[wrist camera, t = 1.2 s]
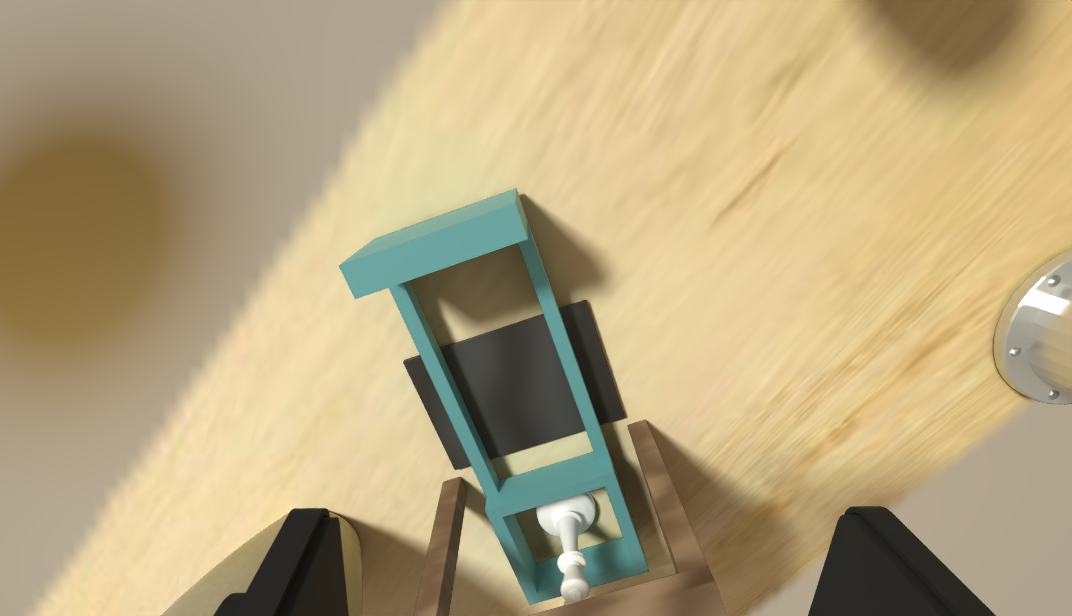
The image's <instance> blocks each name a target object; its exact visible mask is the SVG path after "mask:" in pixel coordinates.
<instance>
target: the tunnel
mask: <svg viewBox="0 0 1072 616" xmlns="http://www.w3.org/2000/svg"><path fill="white" fill-rule="evenodd" d="M559 311H560V314H561V317H562V319H563V322H564V325H565V328H566V331H567V334H568V336H569V339H570V342H571V345H572V348H573V351H574V354H575V356H576V359H577V362H578V365H579V368H580V371H581V373H582V376H583V379H584V382H585V385H586V388H587V391H588V393H589V396H590V399H591V402H592V405H593V408H594V410H595V413H596V416H597V419H598V422H599V425H602V424H605V423H609V422H612V421H615V420H618V419H621V418H625V417H624V414H623V411H622V408H621V405H620V402H619V399H618V396H617V393H616V390H615V387H614V384H613V381H612V378H611V375H610V372H609V368H608V365H607V362H606V359H605V356H604V353H603V350H602V347H601V344H600V341H599V338H598V335H597V332H596V329H595V326H594V323H593V320H592V317H591V314H590V311H589V308H588V305H587V302H586V300H583V301H580V302H577V303H574V304H571V305H568V306H565V307H562V308H559ZM440 350H441V352H442V354H443V356H444V359H445V361H446V363H447V365H448V367H449V370H450V372H451V374H452V376H453V379H454V381H455V383H456V385H457V387H458V390H459V392H460V394H461V396H462V399H463V401H464V403H465V405H466V407H467V410H468V412H469V414H470V416H471V419H472V421H473V423H474V425H475V427H476V430H477V432H478V434H479V436H480V439H481V441H482V443H483V445H484V448H485V450H486V452H487V454H488V456H489V459H493V458H496V457H499V456H502V455H505V454H509V453H512V452H515V451H518V450H522V449H525V448H528V447H531V446H534V445H538V444H541V443H544V442H547V441H551V440H554V439H557V438H560V437H563V436H567V435H570V434H573V433H576V432H580V431H583V430H586V429H585V426H584V423H583V420H582V418H581V415H580V412H579V409H578V407H577V404H576V401H575V398H574V396H573V393H572V390H571V387H570V385H569V382H568V379H567V376H566V374H565V371H564V368H563V365H562V363H561V360H560V357H559V354H558V352H557V349H556V346H555V343H554V341H553V338H552V335H551V332H550V330H549V327H548V324H547V321H546V319H545V316H544V314H541V315H538V316H535V317H532V318H529V319H526V320H523V321H520V322H517V323H514V324H511V325H508V326H505V327H502V328H499V329H496V330H493V331H490V332H487V333H484V334H481V335H478V336H475V337H472V338H469V339H466V340H463V341H460V342H457V343H454V344H451V345H448V346H445V347H442V348H440ZM403 363H404V365H405V367H406V369H407V371H408V373H409V376H410V378H411V380H412V382H413V384H414V386H415V388H416V390H417V392H418V394H419V396H420V398H421V400H422V403H423V405H424V407H425V409H426V411H427V413H428V415H429V417H430V419H431V421H432V423H433V425H434V427H435V429H436V432H437V434H438V436H439V438H440V440H441V442H442V444H443V446H444V448H445V450H446V452H447V454H448V456H449V459H450V461H451V463H452V465H453V467H454V469H455V470H457V469H460V468H464V467H467V466H470V465H471V463H470V461H469V459H468V457H467V454H466V452H465V450H464V448H463V446H462V444H461V442H460V439H459V437H458V435H457V433H456V431H455V429H454V427H453V424H452V422H451V420H450V418H449V416H448V414H447V412H446V409H445V407H444V405H443V403H442V401H441V399H440V397H439V394H438V392H437V390H436V388H435V386H434V384H433V382H432V379H431V377H430V375H429V373H428V371H427V369H426V367H425V364H424V362H423V360H422V358H421V356H420V355H418V356H415V357H412V358H409V359H406V360H404V362H403ZM627 426H628V429H629V432H630V435H631V438H632V442H633V445H634V448H635V451H636V454H637V457H638V460H639V463H640V466H641V469H642V472H643V475H644V478H645V481H646V484H647V487H648V490H649V493H650V496H651V499H652V502H653V505H654V508H655V511H656V514H657V517H658V520H659V523H660V526H661V529H662V532H663V536H664V539H665V541H666V544H667V547H668V550H669V553H670V556H671V559H672V561H673V564H674V567H675V570H676V573H677V574H675V575H671V576H668V577H664V578H661V579H657V580H653V581H650V582H646V583H643V584H639V585H636V586H632V587H628V588H625V589H621V590H618V591H614V592H611V593H607V594H603V595H600V596H596V597H593V598H589V599H586V600H582V601H579V602H575V603H571V604H568V605H564V606H561V607H557V608H554V609H550V610H546V611H543V612H539V613H536V614H532V615H529V616H726V614H725V611H724V607H723V604H722V601H721V597H720V594H719V591H718V588H717V586H716V583H715V581H714V579H713V576H712V574H711V572H710V569H709V567H708V565H707V562H706V560H705V558H704V555H703V553H702V551H701V548H700V546H699V544H698V541H697V539H696V537H695V534H694V532H693V529H692V527H691V525H690V522H689V520H688V518H687V515H686V513H685V511H684V508H683V506H682V504H681V501H680V499H679V497H678V494H677V492H676V490H675V487H674V485H673V483H672V480H671V478H670V476H669V473H668V471H667V469H666V466H665V464H664V462H663V459H662V457H661V454H660V452H659V450H658V447H657V445H656V443H655V440H654V438H653V436H652V433H651V431H650V429H649V426H648V424H647V422H646V420H642V421H639V422H636V423H633V424H629V425H627ZM466 496H467V489H466V487H465V485H464V483H463V481H462V479H461V477H458V478H455V479H451V480H448V481H445V482H443V485H442V489H441V494H440V498H439V503H438V507H437V512H436V516H435V521H434V525H433V530H432V534H431V539H430V543H429V548H428V552H427V557H426V561H425V566H424V570H423V575H422V579H421V584H420V588H419V593H418V597H417V602H416V606H415V611H414V615H413V616H449V610H450V603H451V596H452V590H453V583H454V576H455V570H456V563H457V556H458V550H459V543H460V536H461V530H462V523H463V516H464V510H465V503H466Z"/></svg>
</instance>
